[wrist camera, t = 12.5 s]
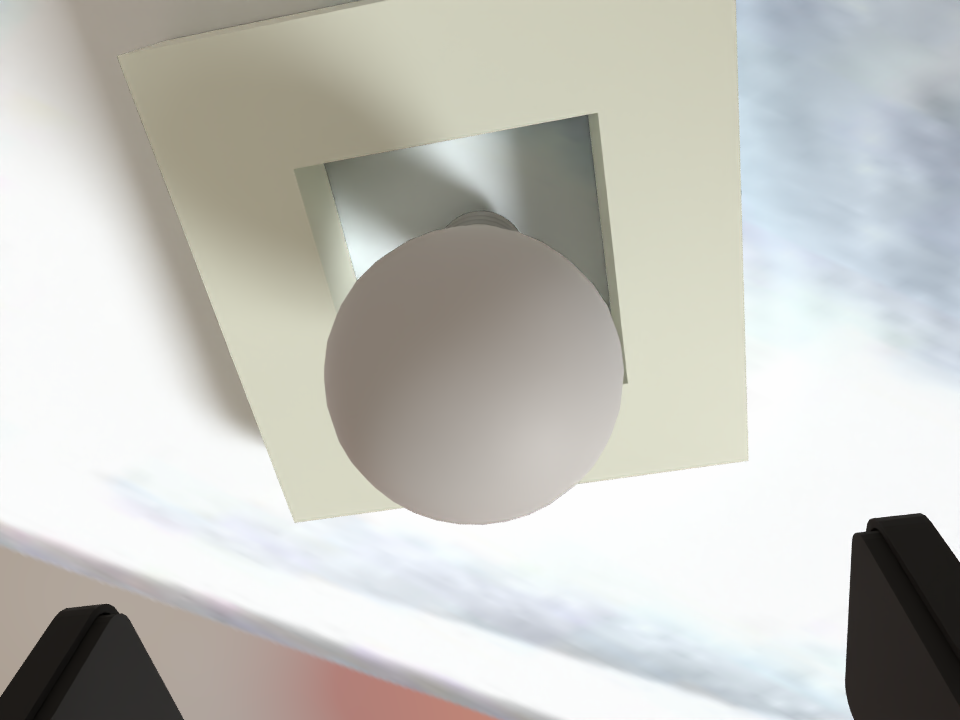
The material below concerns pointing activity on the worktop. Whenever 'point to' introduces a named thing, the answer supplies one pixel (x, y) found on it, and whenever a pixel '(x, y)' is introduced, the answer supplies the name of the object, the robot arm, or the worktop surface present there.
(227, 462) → the worktop surface
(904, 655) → the robot arm
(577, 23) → the socket block
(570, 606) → the worktop surface
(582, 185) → the worktop surface
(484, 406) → the lightbulb
